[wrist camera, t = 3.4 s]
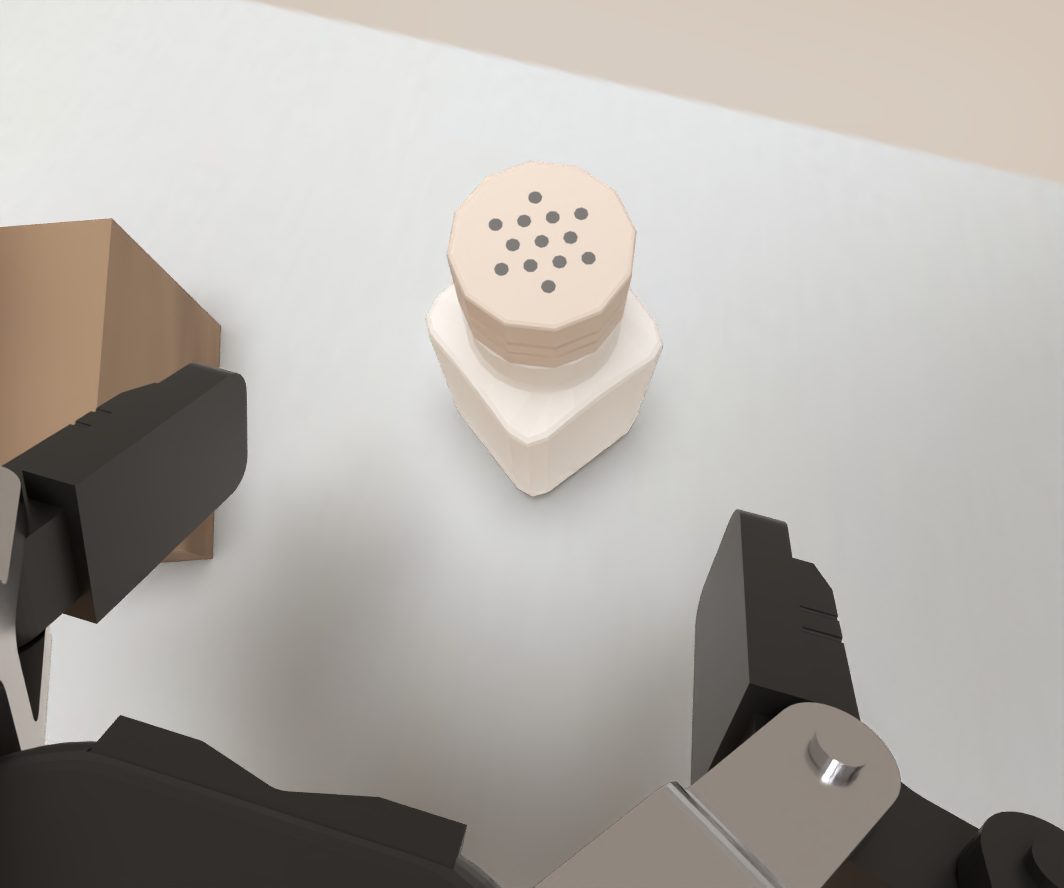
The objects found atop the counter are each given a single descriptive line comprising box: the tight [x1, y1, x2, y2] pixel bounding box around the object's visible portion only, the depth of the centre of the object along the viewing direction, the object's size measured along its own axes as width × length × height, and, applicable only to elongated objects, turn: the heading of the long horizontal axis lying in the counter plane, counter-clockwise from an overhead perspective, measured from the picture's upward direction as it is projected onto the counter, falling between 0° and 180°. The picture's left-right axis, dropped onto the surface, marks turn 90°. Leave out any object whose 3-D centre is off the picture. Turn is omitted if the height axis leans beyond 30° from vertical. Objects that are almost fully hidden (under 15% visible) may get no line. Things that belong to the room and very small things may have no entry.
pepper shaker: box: [426, 161, 663, 496], centre depth 17 cm, size 4×4×10 cm
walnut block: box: [0, 218, 221, 563], centre depth 19 cm, size 7×7×6 cm
